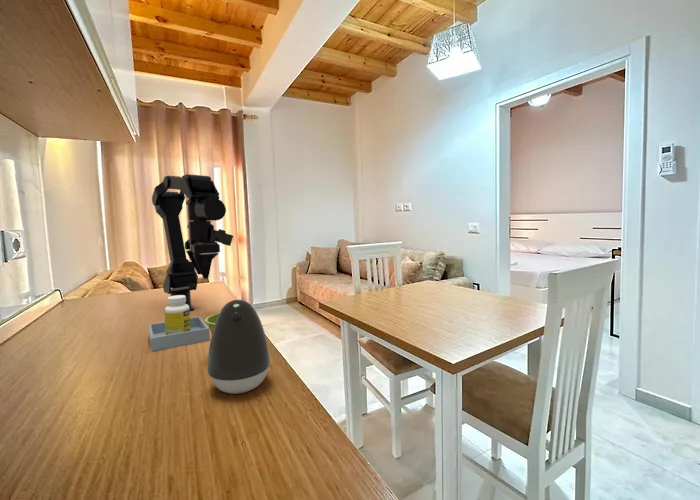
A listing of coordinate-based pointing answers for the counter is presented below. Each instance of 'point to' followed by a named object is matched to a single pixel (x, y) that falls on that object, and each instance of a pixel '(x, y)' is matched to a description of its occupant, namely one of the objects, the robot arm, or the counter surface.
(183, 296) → the supplement bottle
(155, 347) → the tray
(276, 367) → the counter surface
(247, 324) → the dark grey egg-shaped device
